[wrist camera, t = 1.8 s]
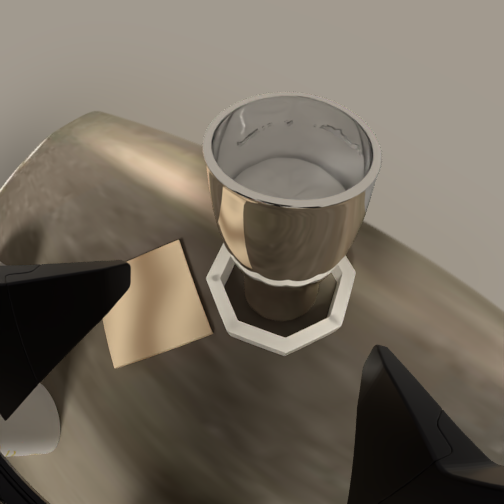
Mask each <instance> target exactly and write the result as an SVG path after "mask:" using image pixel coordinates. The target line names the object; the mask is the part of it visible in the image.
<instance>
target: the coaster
mask: <svg viewBox="0 0 504 504" xmlns="http://www.w3.org/2000/svg"><path fill="white" fill-rule="evenodd" d="M127 263H129V264H130V266H131V285H130V288H129V289H128V291H127V292H126V293H125V294H124V295H123V296H122V297H121V299H120V300H119V301H118V302H117V303H116V304H115V306H114V307H113V308H112V309H111V310H110V312H109V313H108V314H107V315H106V316H105V317H104V318H103V323H104V328H105V332H106V337H107V341H108V345H109V349H110V353H111V357H112V361H113V365H114V368H119V367H122V366H125V365H128V364H131V363H134V362H137V361H140V360H143V359H146V358H149V357H152V356H155V355H157V354H160V353H163V352H166V351H169V350H171V349H174V348H177V347H180V346H182V345H185V344H188V343H190V342H193V341H196V340H198V339H201V338H203V337H206V336H208V335H211V334H213V332H212V330H211V327H210V324H209V322H208V319H207V317H206V314H205V311H204V309H203V306H202V303H201V301H200V298H199V295H198V292H197V290H196V287H195V284H194V281H193V278H192V276H191V273H190V270H189V267H188V264H187V261H186V258H185V255H184V252H183V249H182V246H181V243H180V241H179V240H177V241H174V242H172V243H169V244H167V245H165V246H162V247H160V248H157V249H155V250H153V251H150V252H148V253H146V254H143V255H141V256H139V257H136V258H134V259H132V260H130V261H127Z"/></svg>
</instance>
